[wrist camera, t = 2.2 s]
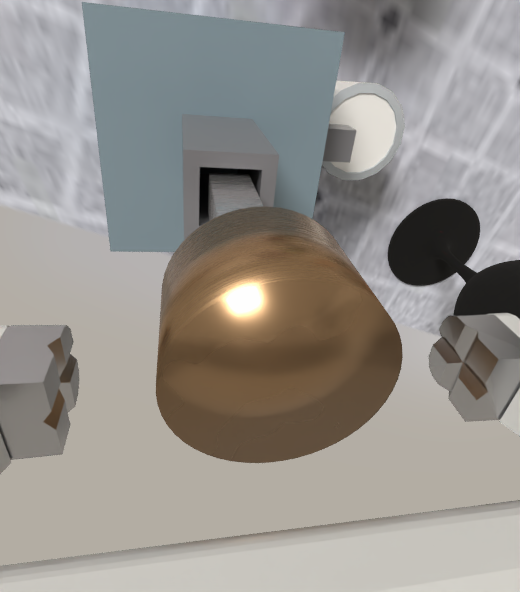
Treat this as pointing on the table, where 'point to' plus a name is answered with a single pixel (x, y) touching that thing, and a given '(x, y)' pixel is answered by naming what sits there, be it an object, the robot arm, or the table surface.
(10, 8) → the table surface
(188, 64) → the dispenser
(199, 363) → the pump plunger
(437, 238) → the wine glass
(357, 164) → the shot glass
